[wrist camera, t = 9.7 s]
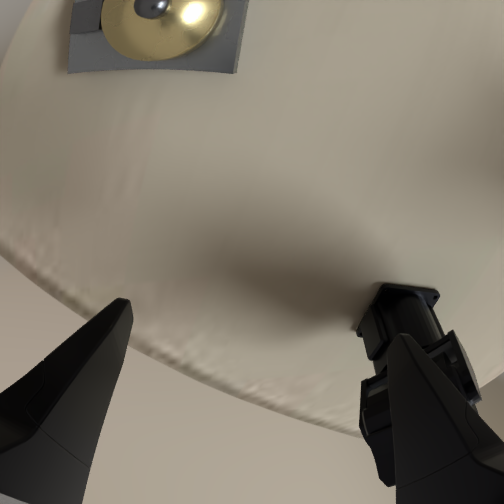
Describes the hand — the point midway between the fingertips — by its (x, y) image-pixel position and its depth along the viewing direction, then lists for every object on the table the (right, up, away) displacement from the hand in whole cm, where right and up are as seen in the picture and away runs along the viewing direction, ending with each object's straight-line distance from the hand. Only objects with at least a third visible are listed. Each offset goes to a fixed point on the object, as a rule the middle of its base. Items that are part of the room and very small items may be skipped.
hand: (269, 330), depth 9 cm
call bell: (-6, +16, +3) cm, 18 cm away
